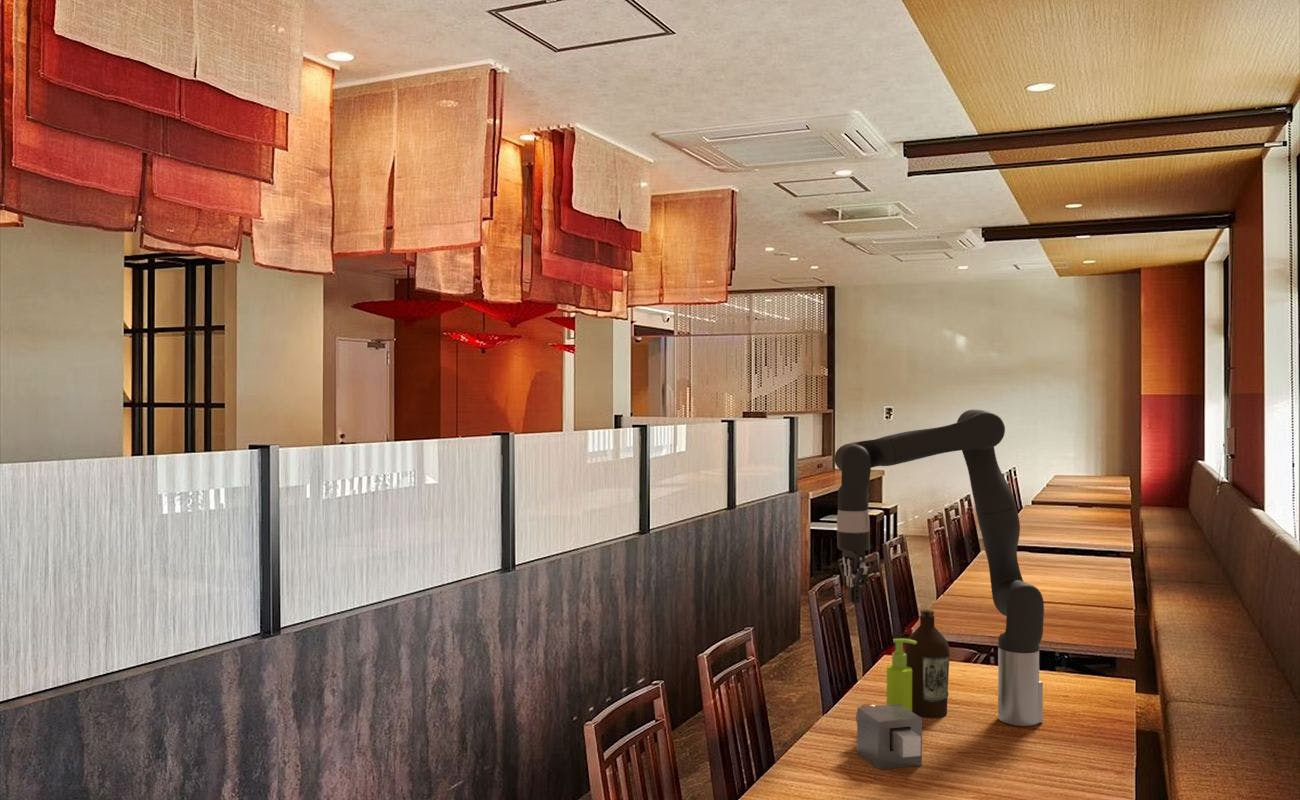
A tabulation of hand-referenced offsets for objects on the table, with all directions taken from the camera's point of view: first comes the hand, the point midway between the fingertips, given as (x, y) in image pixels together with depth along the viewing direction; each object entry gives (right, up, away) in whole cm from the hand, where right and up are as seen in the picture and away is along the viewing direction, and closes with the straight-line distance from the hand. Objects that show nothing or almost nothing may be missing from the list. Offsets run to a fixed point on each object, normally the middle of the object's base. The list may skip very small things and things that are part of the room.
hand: (854, 602), depth 245 cm
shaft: (+3, -26, -22) cm, 34 cm away
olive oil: (+20, -29, +10) cm, 37 cm away
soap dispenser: (+12, -29, +2) cm, 31 cm away
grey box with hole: (+3, -29, -22) cm, 37 cm away
